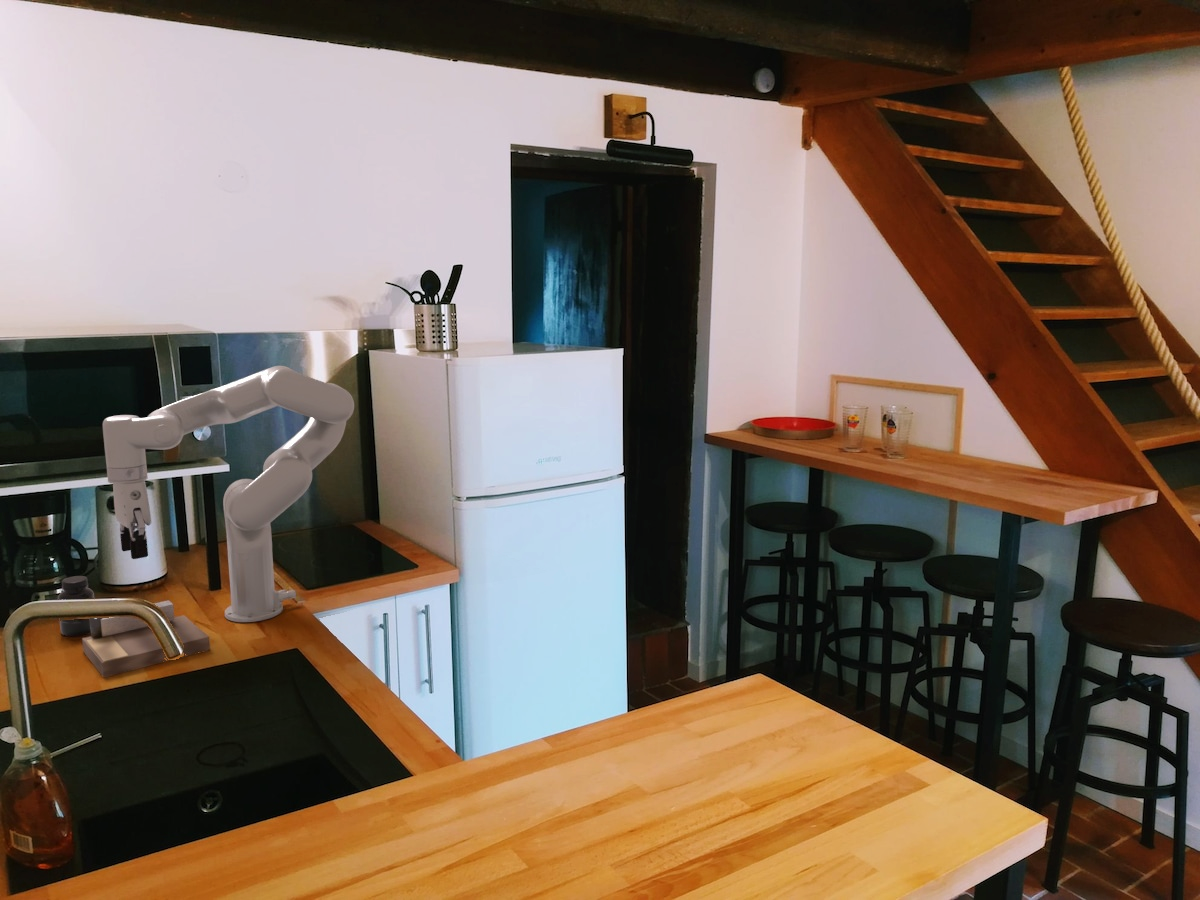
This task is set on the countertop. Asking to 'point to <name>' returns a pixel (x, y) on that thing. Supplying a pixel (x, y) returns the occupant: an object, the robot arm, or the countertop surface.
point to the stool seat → (140, 647)
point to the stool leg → (124, 622)
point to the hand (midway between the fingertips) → (134, 553)
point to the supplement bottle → (75, 590)
